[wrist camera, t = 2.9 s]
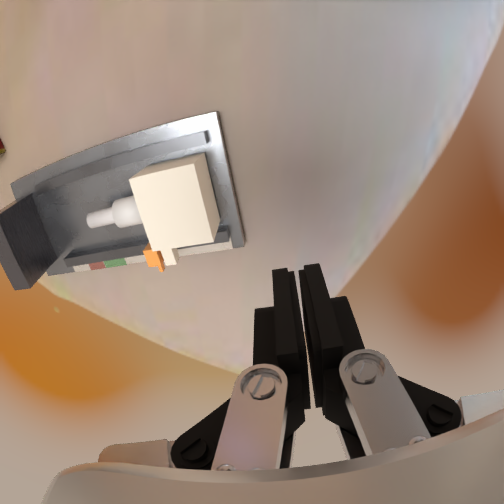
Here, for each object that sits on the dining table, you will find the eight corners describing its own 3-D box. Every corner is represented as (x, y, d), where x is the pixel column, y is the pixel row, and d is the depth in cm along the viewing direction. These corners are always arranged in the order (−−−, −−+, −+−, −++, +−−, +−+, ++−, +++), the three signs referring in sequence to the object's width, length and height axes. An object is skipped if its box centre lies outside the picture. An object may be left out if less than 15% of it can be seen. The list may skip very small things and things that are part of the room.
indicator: (160, 240, 25) (155, 249, 24) (170, 266, 27) (165, 276, 25) (148, 242, 26) (142, 251, 24) (158, 267, 27) (153, 277, 25)
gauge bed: (217, 111, 22) (201, 117, 16) (244, 240, 28) (240, 284, 22) (16, 180, 25) (-24, 204, 19) (53, 270, 31) (23, 305, 25)
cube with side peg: (204, 152, 23) (193, 163, 19) (225, 242, 27) (220, 267, 23) (90, 182, 24) (67, 197, 20) (119, 259, 28) (103, 282, 24)
